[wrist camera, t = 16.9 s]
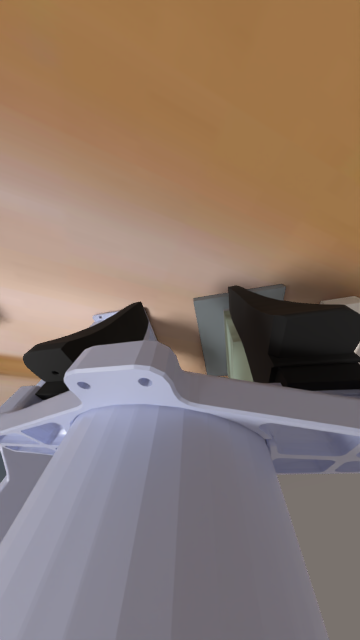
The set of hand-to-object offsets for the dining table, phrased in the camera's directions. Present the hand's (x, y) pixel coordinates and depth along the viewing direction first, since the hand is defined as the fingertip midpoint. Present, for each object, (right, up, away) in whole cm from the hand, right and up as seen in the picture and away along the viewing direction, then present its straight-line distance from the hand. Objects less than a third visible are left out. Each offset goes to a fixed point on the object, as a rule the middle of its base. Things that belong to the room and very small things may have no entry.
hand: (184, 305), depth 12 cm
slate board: (+9, -4, +14) cm, 17 cm away
